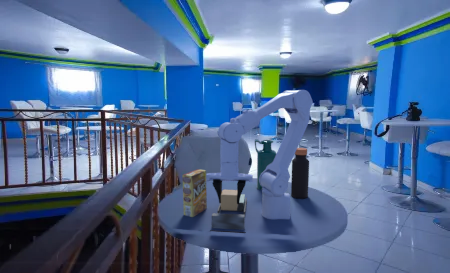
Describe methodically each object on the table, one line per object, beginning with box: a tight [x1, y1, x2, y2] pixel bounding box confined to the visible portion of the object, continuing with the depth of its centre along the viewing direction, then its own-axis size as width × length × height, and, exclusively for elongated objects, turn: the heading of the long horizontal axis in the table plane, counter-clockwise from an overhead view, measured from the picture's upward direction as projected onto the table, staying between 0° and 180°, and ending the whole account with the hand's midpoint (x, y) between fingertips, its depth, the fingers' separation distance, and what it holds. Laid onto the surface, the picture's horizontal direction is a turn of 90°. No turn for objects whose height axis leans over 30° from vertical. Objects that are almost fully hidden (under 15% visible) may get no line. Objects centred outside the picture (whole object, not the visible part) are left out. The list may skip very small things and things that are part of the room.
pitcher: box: [254, 138, 277, 191], centre depth 128 cm, size 10×8×22 cm
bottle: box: [290, 147, 310, 200], centre depth 118 cm, size 7×7×20 cm
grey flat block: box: [226, 193, 246, 212], centre depth 106 cm, size 8×9×3 cm
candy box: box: [182, 168, 208, 218], centre depth 100 cm, size 9×4×15 cm, turn 150°
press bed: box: [209, 197, 248, 234], centre depth 99 cm, size 11×24×5 cm, turn 173°
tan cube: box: [220, 189, 238, 212], centre depth 92 cm, size 5×5×5 cm
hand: (229, 202), depth 92 cm, fingers closed on tan cube, 5 cm apart
